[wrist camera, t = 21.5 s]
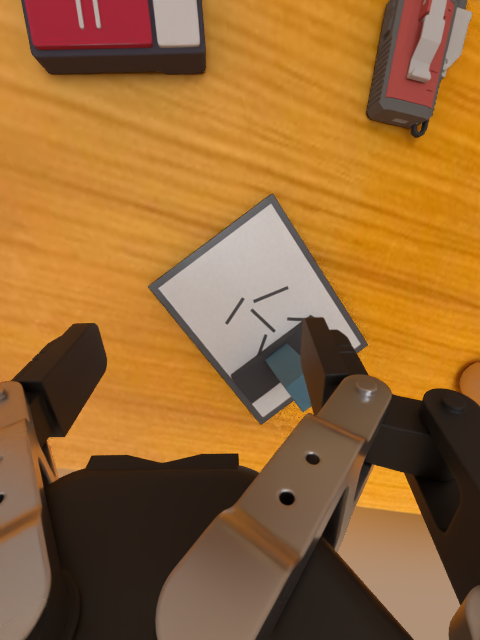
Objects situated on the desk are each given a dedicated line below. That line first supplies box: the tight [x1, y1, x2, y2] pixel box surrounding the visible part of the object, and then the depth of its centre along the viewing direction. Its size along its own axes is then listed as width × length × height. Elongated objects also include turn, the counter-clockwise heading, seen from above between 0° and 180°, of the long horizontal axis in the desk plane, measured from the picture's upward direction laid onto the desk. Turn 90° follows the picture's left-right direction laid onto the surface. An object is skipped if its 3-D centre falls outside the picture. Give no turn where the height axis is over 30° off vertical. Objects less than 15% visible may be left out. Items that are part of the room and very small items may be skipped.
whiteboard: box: [148, 194, 368, 425], centre depth 38 cm, size 17×22×1 cm
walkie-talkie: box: [366, 0, 472, 138], centre depth 33 cm, size 9×4×20 cm
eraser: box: [231, 315, 314, 412], centre depth 34 cm, size 12×4×10 cm, turn 126°
